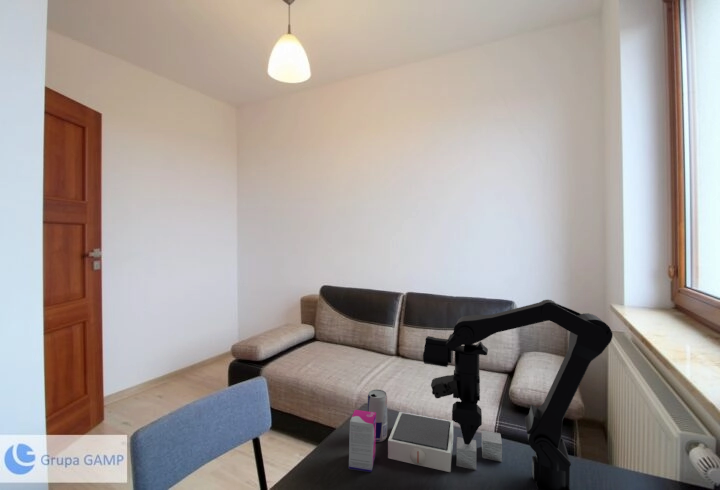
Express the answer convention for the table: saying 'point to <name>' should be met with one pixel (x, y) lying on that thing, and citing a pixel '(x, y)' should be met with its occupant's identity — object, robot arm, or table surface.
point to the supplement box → (362, 440)
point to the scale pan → (422, 431)
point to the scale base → (421, 450)
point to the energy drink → (379, 412)
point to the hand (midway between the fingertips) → (467, 432)
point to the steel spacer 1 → (466, 454)
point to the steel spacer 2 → (491, 446)
